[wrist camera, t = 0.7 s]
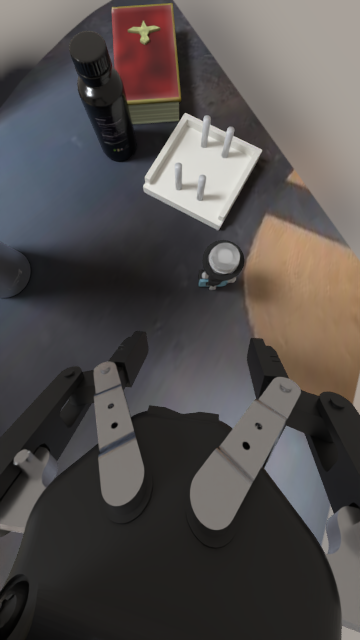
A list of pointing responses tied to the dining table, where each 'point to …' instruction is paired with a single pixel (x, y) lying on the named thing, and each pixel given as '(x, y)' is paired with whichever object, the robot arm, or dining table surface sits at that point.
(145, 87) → the hardcover book
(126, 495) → the robot arm
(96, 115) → the supplement bottle
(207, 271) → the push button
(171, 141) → the tray
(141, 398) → the dining table surface
